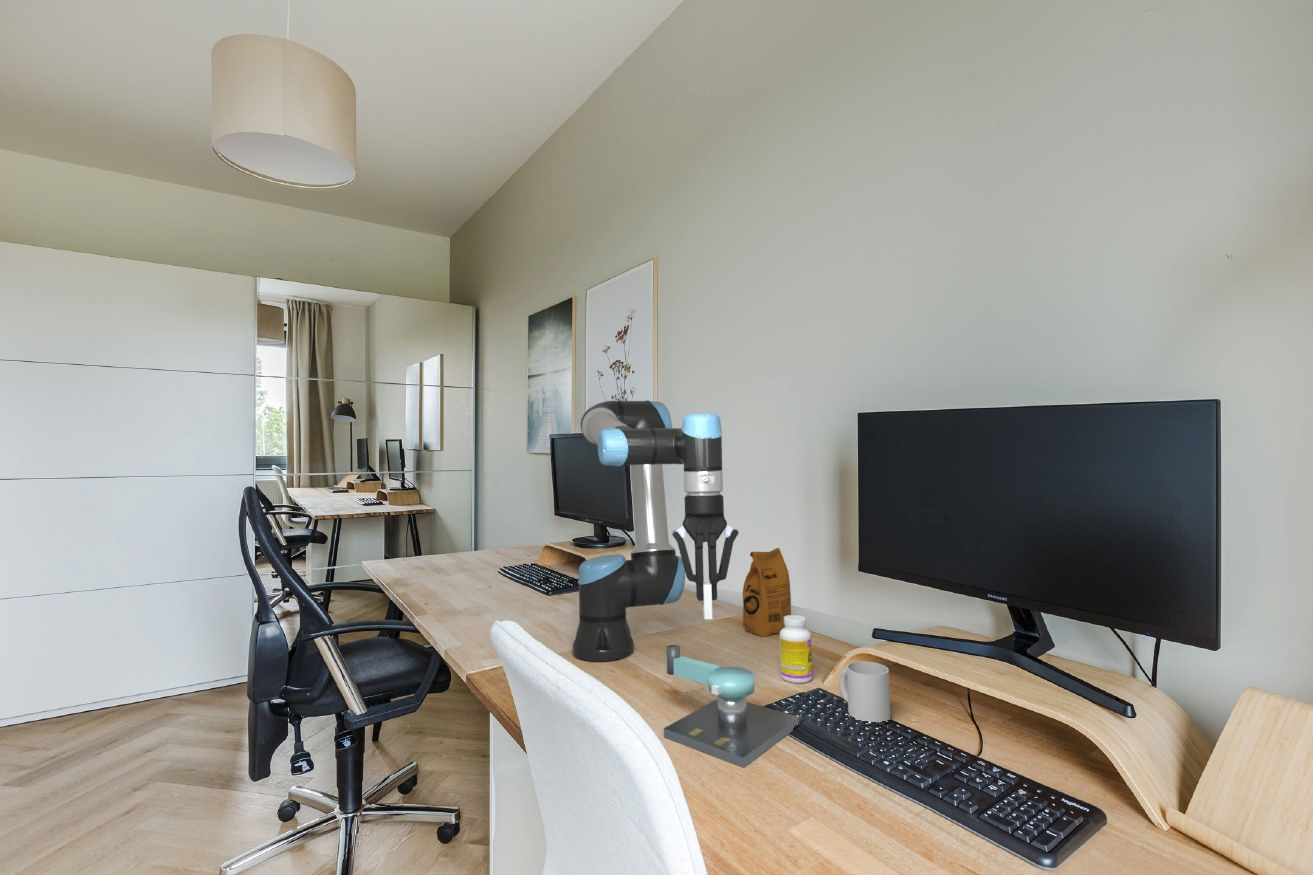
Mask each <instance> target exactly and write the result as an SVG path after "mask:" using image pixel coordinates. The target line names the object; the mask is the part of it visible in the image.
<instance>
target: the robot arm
mask: <svg viewBox="0 0 1313 875" xmlns="http://www.w3.org/2000/svg"><path fill="white" fill-rule="evenodd" d="M580 430H581V433H582V435H583V436H584V438H585V439H586V440H587V441H589V442H590V443H592V444H594V445H597V455H598V459H599V462H600V463H601V464H602V465H603V466H614V467H620V466H630V478H631V489H632V490H631V492H632V505H633V506H632V507H633V508H632V509H633V522H634V532H635V533H634V534H635V536H634V537H635V547H634V548H633V550H632V551H631V552H630V559H626V557H625V555H624V554H621V553H620V554H619V553H617V554H616V553H615V554H605V555H604V554H603V555H600V556H599V555H598V556H596V557H591V558H588V559H586V560H584V561H583V562H581V564H580V566H579V568H578V580H577V583H578V600H579V601H578V603H579V604H578V605H579V606H578V609H579V610H578V611H579V612H578V616H579V619H578V620H579V622H578V625H577V626H578V627H577V630H576V634H575V639H574V640H573V643H572V655H573V656H574V657H575V658H577V659H578V658H579V660H581V659H583V660H582V661H586V662H600V661H601V662H612V661H617V660H616V659H618V660H621V659H624V658H627V657H629V656H632V654H633V653H634V650H635V647H634V646H635V643H634V638H633V637H632V634H631V631H630V627H629V626H630V625H629V624H628V621H627V608H635V607H647V606H658V605H660V606H664V605H665V604H666V605H667V604H673V603H676V602H678V601H679V600H680V598H681V597H682V595H683V592H684V590H685V589H684V588H685V583H686V582H685V581H686V579H687V580H688V582H689V581H690V582H693V583H695V589H696V591H695V592H696V593H695V594H696V599H697V600H698V601H699V602H701V603H702V604H701V607H702V609H701V610H702V617H703V619H704V620H713V601H717V599H718V583H719V582H720V581H724V580H726V579H727V575H728V571H729V566H730V562H731V561H730V560H731V557H732V556H731V555H732V551H733V546H734V542H735V540H736V538H737V537H738V535H739V530H738V529H736V528H733V527H731V526H730V525H728V523H727V522H728V521H727V520H726V517H725V506H724V496H723V494H721V493H722V492H723V491H724V481H723V480H724V478H723V476H724V475H723V445H722V444H723V442H722V440H723V438H722V437H723V431H722V424H721V418H720V416H719V415H718V414H715V413H692V414H686V415H684V416H683V418H682V426H681V428H679V427H677V428H676V427H675V428H674V427H673V424H672V418H671V414H670V411H669V409H668V408H667V406H666V405H665V404H664V403H663V402H661V401H657V400H656V401H655V400H653V401H652V400H606V401H602V402H599V403H597V404H594V405H593V406H591V407H588V409H586V411H585V412H584V413H583V415H582V417H581V419H580ZM663 465H683V489H684V490H683V491H684V492H685V494H686V495H685V496H684V498H683V499H684V519H683V521H682V526H680V527H679V528H677V529H674V530H671V536H672V537H673V538H674V539H675V541H676V543H677V546H678V550H679V553H680V555H679V556H678V555H677V554H676V548H675V547H673V545H671V543H670V540H669V529H668V517H667V516H668V515H667V506H666V495H665V493H666V491H665V482H664V471H663V470H664V469H663ZM723 532H724V536H725V539H724V543H723V549H722V553H721V557H720V561H719V562H720V563H719V568H718V566H717V562H718V561H717V541H718V539H719V538H720V537H721V536H722V534H723ZM686 533H687V534H688V535H689V537H690V538H691V540H692V541H693V542H694V544H693V545H694V561H695V562H694V563H695V565H694V568H695V571H693V568H692V564H691V561H690V557H689V554H688V550H687V546H686V542H685V541H684V539H686ZM704 543H707V559H708V564H707V565H708V580H709V581H705V580H704ZM717 568H718V569H717ZM694 572H695V573H694Z"/></svg>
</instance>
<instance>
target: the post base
mask: <svg viewBox="0 0 1313 875" xmlns="http://www.w3.org/2000/svg"><path fill="white" fill-rule="evenodd" d="M798 722H799V723H800V717H799V716H797V715H796V716H795V715H793V714H790V713H785V712H782V711H779V710H775V709H772V708H769V707H767V706H766V707H765V706H762V705H758V704H755V703H752V702H749V701H747V696H746V697H742V698H724V697H720V696H717V697H716V699H714V700H712V701H711V702H709V703H706V704H705V705H703V706H702V707H700V708H698V709H696V710H694V711H693V712H690V713H689V714H687V715H685V716H683V717H682V718H680V719H678V720H677V721H675V722H673V723H671V724H669V725H667V726H666V727H664V728H663V737H664V738H665V739H668V740H669V741H673V742H675V743H678V744H681V745H682V746H683V745H684V746H685V747H689V748H691V749H694V750H696V751H699V752H702V753H704V754H706V755H709V756H712V757H714V758H717V759H719V760H723V761H725V762H728V763H730V764H733V765H736V766H737V767H741V768H746V766H748V765H749V764H751V763H752V762H753V761H754V760H756V759H758V758H759V757H760V756H761V755H763V754H764V753H765V752H767V751H768V750H769V749H771V748H772V747H773V746H775V745H776V744H777V743H779V742H780V741H781V740H782V739H784V738H785V737H786V736H788V735H789V734H791V733H792V732H793V731H794V730H793V728H794V726H795V725H796V724H797V723H798Z"/></svg>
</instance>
